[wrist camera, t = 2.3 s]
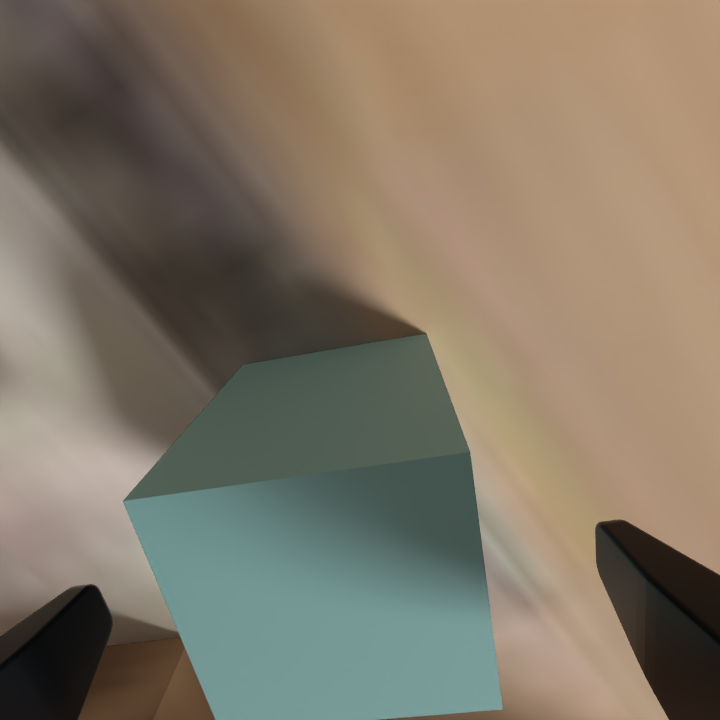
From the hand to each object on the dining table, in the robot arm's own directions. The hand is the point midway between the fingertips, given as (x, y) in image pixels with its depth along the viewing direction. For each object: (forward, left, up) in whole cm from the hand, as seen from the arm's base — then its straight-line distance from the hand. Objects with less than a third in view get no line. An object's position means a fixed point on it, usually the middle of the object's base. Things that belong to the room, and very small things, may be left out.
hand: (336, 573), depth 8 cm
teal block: (0, 0, -5) cm, 5 cm away
